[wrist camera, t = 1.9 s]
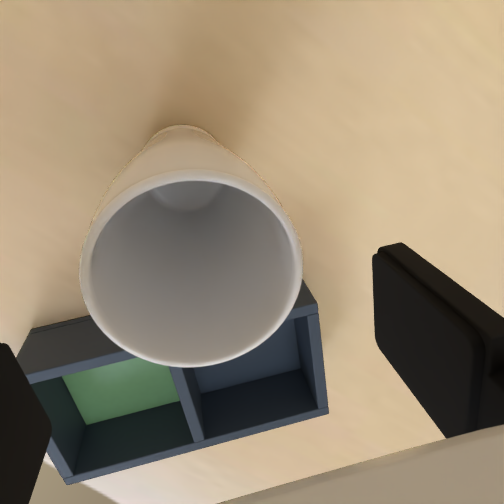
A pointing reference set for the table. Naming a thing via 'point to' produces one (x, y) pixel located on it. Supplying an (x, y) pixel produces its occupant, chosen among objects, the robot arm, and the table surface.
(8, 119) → the table surface
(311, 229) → the table surface
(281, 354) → the glass rack
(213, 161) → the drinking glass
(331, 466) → the table surface
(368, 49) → the table surface
